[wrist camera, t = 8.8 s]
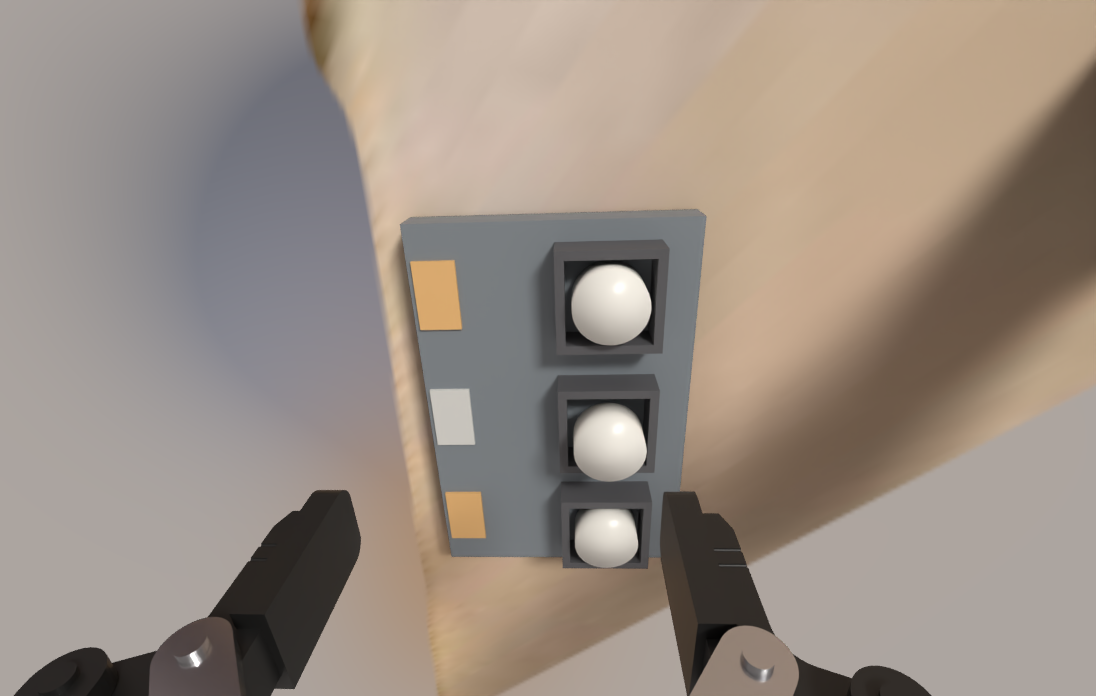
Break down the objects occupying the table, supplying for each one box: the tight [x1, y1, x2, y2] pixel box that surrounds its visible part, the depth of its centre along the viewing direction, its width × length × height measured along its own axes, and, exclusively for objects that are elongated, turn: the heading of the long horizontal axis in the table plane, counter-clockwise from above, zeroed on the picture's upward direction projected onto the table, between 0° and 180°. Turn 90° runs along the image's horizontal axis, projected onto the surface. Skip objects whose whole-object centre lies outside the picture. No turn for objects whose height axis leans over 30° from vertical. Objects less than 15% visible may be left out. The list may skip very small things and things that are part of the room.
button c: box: [575, 509, 638, 568], centre depth 33 cm, size 4×4×2 cm
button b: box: [573, 403, 647, 482], centre depth 29 cm, size 4×4×2 cm
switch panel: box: [400, 209, 706, 569], centre depth 31 cm, size 16×24×4 cm, turn 2°
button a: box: [571, 260, 651, 345], centre depth 26 cm, size 4×4×2 cm
